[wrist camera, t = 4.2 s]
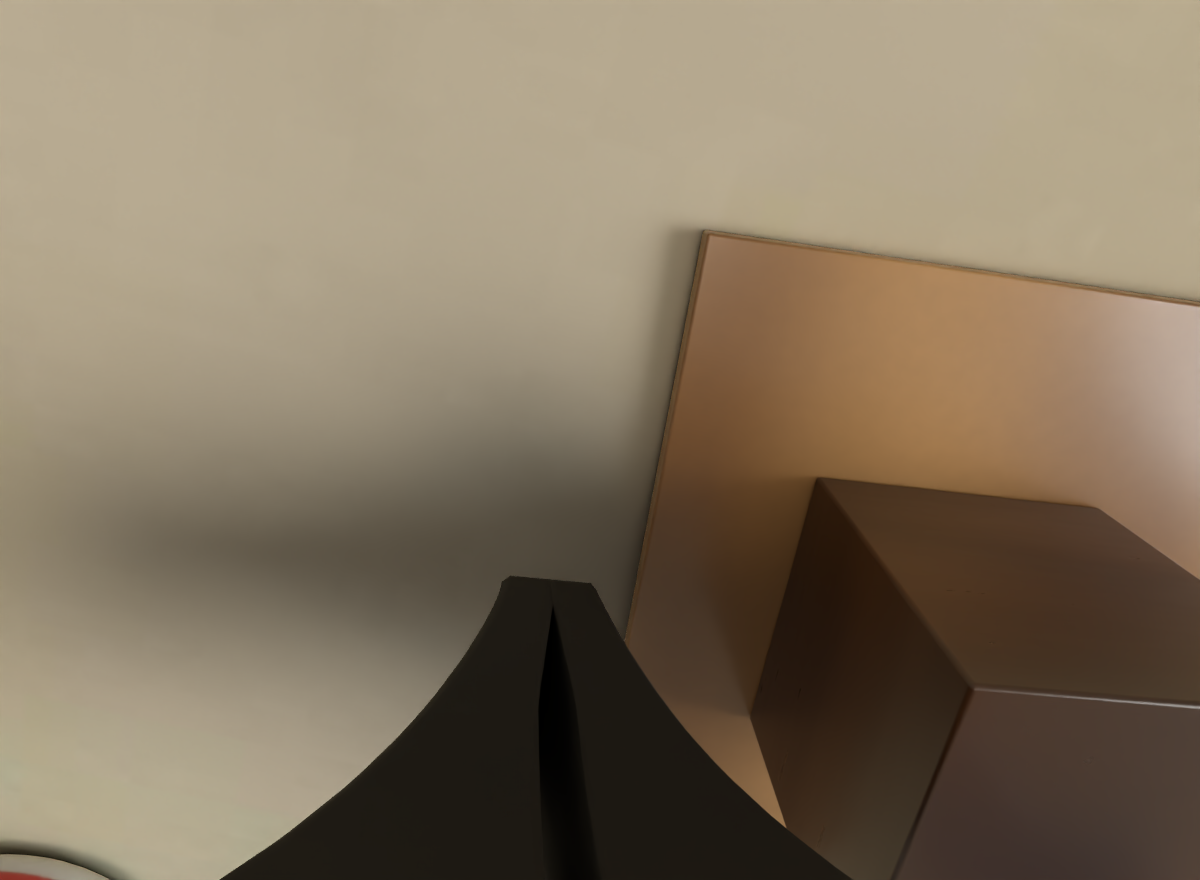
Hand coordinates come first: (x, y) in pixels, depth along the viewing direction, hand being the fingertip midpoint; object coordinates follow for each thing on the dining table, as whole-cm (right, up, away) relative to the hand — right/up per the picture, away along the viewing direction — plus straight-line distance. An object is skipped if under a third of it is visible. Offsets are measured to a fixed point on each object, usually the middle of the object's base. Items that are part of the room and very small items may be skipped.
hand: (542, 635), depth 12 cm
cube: (+6, 0, +2) cm, 7 cm away
